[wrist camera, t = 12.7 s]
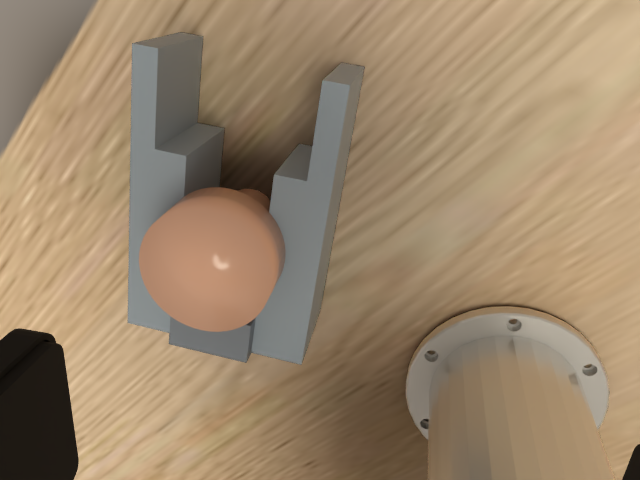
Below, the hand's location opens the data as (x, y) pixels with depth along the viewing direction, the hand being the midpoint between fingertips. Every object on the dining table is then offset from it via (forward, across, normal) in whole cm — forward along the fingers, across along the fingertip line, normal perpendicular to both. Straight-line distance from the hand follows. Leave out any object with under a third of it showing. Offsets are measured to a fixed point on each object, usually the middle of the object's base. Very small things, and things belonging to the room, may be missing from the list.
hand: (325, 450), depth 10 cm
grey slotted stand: (+26, +8, +5) cm, 28 cm away
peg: (+25, +8, +7) cm, 27 cm away
